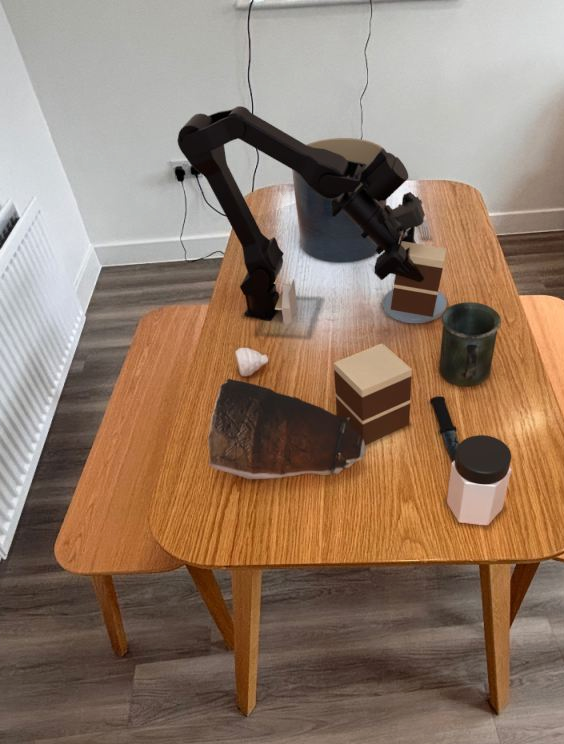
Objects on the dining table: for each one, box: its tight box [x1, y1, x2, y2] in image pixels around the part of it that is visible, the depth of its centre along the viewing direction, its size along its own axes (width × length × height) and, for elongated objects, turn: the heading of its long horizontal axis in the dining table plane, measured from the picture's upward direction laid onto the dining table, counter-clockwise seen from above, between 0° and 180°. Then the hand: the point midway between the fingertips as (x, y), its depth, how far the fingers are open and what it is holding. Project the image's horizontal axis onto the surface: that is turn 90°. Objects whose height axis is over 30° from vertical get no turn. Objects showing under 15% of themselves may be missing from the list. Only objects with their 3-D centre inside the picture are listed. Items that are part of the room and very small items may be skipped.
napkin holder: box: [275, 278, 298, 325], centre depth 138 cm, size 3×7×7 cm, turn 172°
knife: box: [430, 395, 460, 463], centre depth 113 cm, size 21×1×3 cm
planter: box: [291, 137, 388, 263], centre depth 154 cm, size 22×22×20 cm
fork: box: [418, 219, 431, 241], centre depth 168 cm, size 3×21×3 cm, turn 5°
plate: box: [382, 289, 448, 324], centre depth 142 cm, size 14×14×1 cm
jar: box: [446, 434, 512, 526], centre depth 99 cm, size 9×8×12 cm
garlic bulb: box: [234, 347, 269, 378], centre depth 126 cm, size 6×6×5 cm
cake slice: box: [391, 241, 447, 317], centre depth 130 cm, size 9×5×12 cm, turn 80°
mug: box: [438, 301, 502, 388], centre depth 120 cm, size 11×15×12 cm
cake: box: [333, 342, 413, 446], centre depth 113 cm, size 9×10×12 cm
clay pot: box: [206, 378, 367, 480], centre depth 107 cm, size 15×15×25 cm
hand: (423, 273), depth 129 cm, fingers closed on cake slice, 5 cm apart
